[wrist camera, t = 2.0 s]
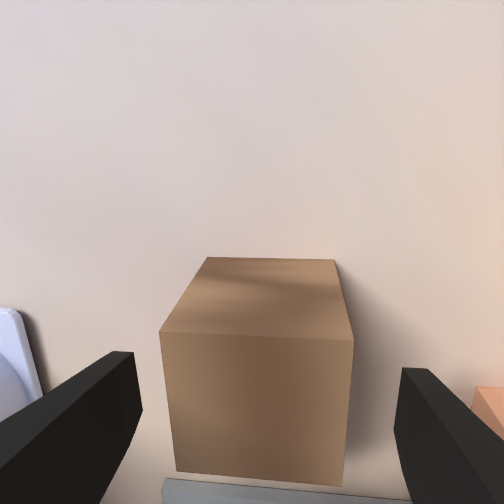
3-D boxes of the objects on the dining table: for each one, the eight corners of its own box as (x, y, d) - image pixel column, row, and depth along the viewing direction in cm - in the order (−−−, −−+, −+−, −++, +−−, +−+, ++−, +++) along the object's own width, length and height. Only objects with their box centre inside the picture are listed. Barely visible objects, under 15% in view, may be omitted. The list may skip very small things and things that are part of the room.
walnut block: (214, 360, 15) (176, 471, 10) (207, 256, 13) (158, 331, 9) (327, 366, 14) (341, 486, 10) (334, 259, 13) (354, 340, 8)
